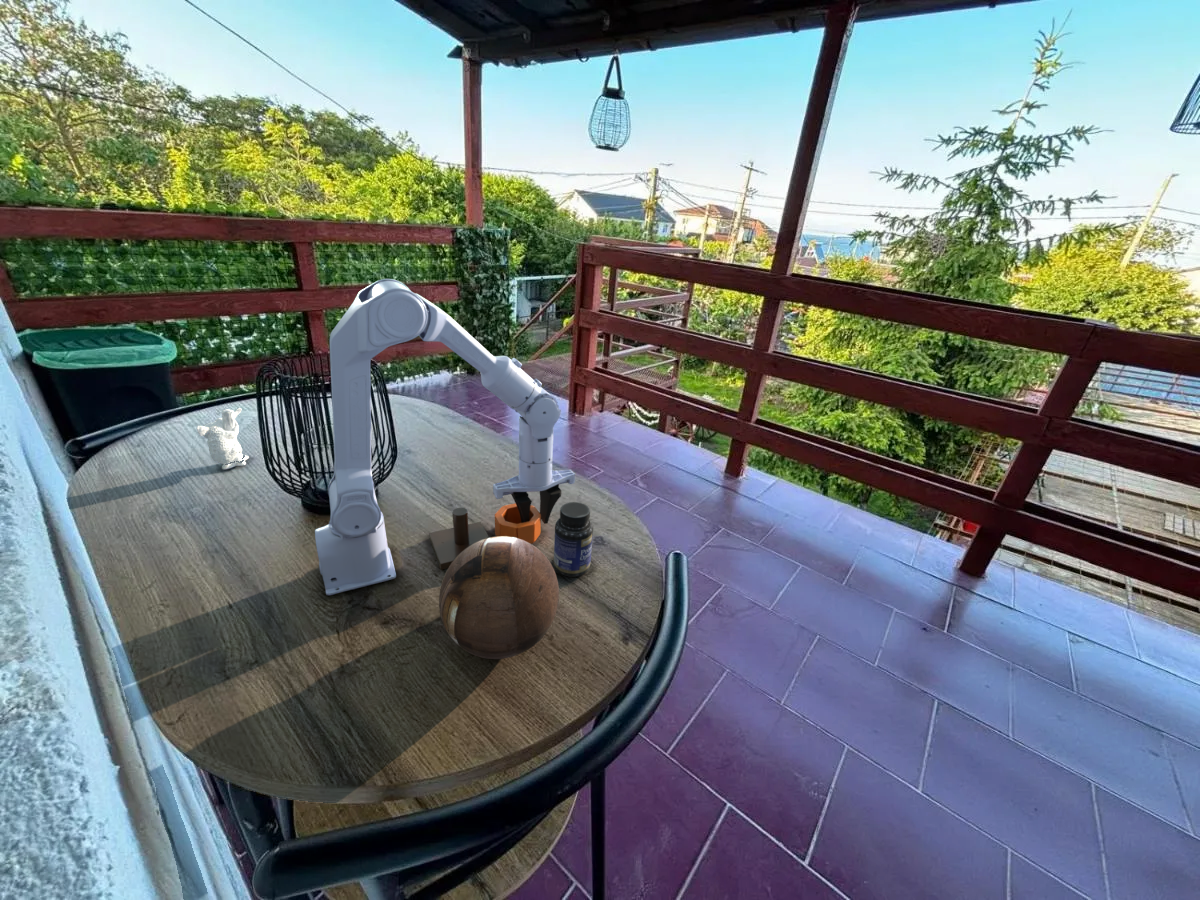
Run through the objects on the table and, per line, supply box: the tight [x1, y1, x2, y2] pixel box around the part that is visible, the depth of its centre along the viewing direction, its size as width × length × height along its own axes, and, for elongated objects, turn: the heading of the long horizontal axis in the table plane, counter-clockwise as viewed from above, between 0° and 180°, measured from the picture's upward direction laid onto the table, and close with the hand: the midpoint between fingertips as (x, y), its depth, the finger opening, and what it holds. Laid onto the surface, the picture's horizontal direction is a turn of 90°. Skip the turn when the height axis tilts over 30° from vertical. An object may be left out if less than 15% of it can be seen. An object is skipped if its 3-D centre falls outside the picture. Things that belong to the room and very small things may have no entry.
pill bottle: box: [553, 501, 594, 578], centre depth 77 cm, size 6×6×11 cm
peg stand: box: [428, 507, 490, 571], centre depth 80 cm, size 9×9×7 cm
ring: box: [494, 502, 542, 545], centre depth 85 cm, size 8×8×4 cm
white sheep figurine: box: [196, 407, 250, 470], centre depth 98 cm, size 8×7×12 cm
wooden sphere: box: [438, 536, 560, 660], centre depth 62 cm, size 15×15×15 cm
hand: (534, 522), depth 87 cm, fingers open, 3 cm apart
